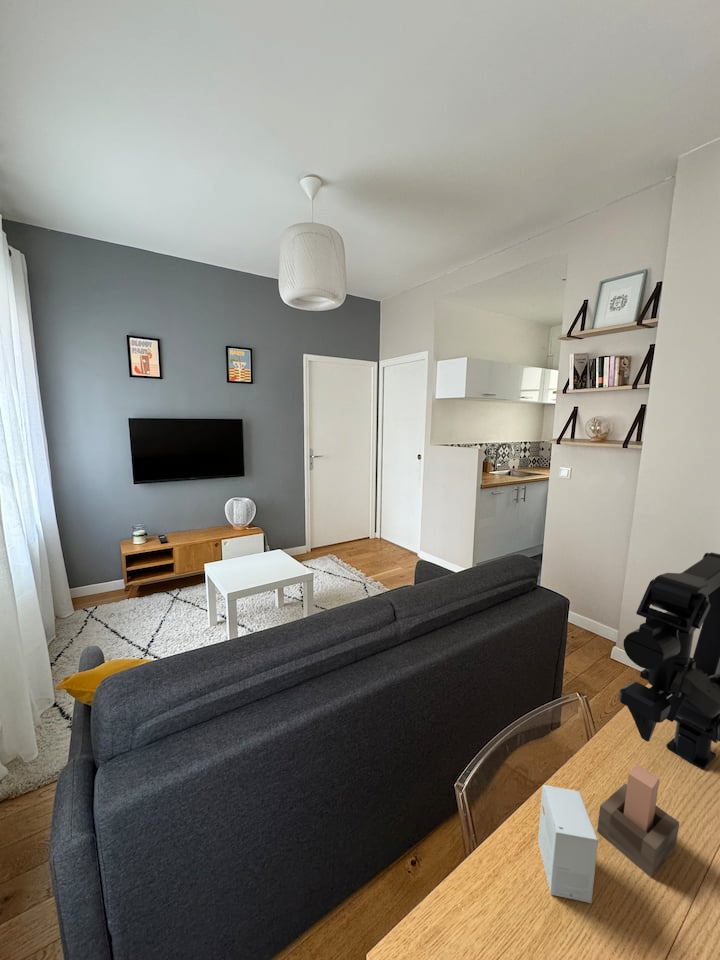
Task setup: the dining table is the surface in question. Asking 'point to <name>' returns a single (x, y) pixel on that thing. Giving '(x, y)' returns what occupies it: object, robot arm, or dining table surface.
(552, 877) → the small box
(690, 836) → the dining table surface
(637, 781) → the peg
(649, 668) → the robot arm
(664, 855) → the socket block
